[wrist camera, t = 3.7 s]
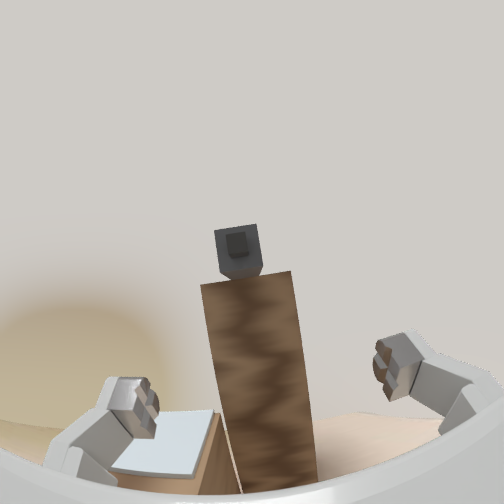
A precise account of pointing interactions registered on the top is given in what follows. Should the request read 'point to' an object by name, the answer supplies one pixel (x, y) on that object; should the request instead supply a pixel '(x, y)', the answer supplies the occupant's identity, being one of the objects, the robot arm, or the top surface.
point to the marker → (239, 252)
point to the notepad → (168, 447)
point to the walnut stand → (251, 394)
